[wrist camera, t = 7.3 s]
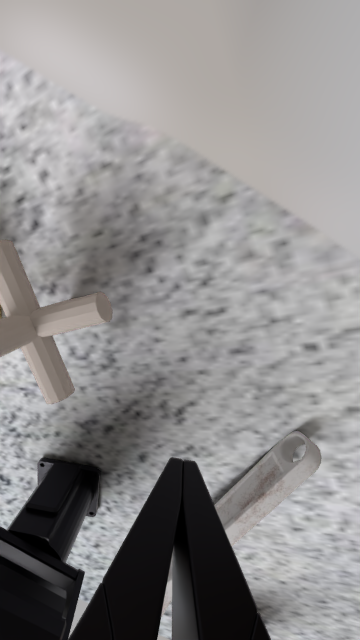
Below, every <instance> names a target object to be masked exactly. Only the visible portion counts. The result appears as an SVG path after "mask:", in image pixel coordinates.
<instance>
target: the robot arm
mask: <svg viewBox="0 0 360 640" xmlns="http://www.w3.org/2000/svg"><path fill="white" fill-rule="evenodd" d="M100 476H101V471H100V469H98V468H95V467H90V466H85V465H79V464H74V463H69V462H64V461H58V460H53V459H48V458H41V459H40V461H39V462H38V486H37V487H36V489H35V490H34V492H33V493H32V495H31V496H30V497H29V499H28V500H27V502H26V503H25V505H24V506H23V507H22V509H21V510H20V512H19V513H18V515H17V516H16V517H15V519H14V520H13V522H12V523H11V525H10V526H9V527H8V529H7V530H6V529H4V528H2V527H0V640H157V637H158V631H159V626H160V620H161V615H162V609H163V603H164V598H165V592H166V587H167V581H168V575H169V570H170V564H171V559H172V640H271V638H270V636H269V634H268V631H267V629H266V626H265V624H264V622H263V619H262V617H261V615H260V613H257V611H258V608H257V605H256V603H255V601H254V598H253V596H252V594H251V591H250V589H249V586H248V584H247V582H246V579H245V577H244V575H243V572H242V570H241V568H240V565H239V563H238V560H237V558H236V556H235V553H234V551H233V549H232V546H231V544H230V541H229V539H228V537H227V534H226V532H225V530H224V527H223V525H222V522H221V520H220V518H219V515H218V513H217V511H216V508H215V506H214V503H213V501H212V499H211V496H210V494H209V492H208V489H207V487H206V484H205V482H204V480H203V477H202V475H201V473H200V470H199V468H198V465H197V463H196V462H195V461H191V460H184V461H183V460H182V459H179V458H174V457H171V458H170V459H169V461H168V463H167V465H166V466H165V468H164V470H163V472H162V474H161V475H160V477H159V479H158V481H157V483H156V484H155V486H154V488H153V490H152V492H151V493H150V495H149V497H148V499H147V501H146V502H145V504H144V506H143V508H142V510H141V511H140V513H139V515H138V517H137V519H136V520H135V522H134V524H133V526H132V528H131V529H130V531H129V533H128V535H127V537H126V538H125V540H124V542H123V544H122V546H121V547H120V549H119V551H118V553H117V555H116V556H115V558H114V560H113V562H112V564H111V565H110V567H109V569H108V571H107V573H106V574H105V576H104V578H103V582H102V583H101V584H100V585H99V587H98V588H97V590H96V592H95V594H94V596H93V597H92V599H91V601H90V603H89V605H88V606H87V608H86V610H85V611H84V613H83V615H82V617H81V618H80V620H79V622H78V623H77V625H76V627H75V629H74V631H73V632H72V634H71V635H70V637H69V633H70V629H71V625H72V621H73V617H74V613H75V609H76V605H77V601H78V597H79V594H80V590H81V586H82V582H83V578H84V574H85V572H84V571H82V570H81V569H78V570H77V569H75V568H74V567H72V566H70V565H68V564H67V563H66V561H67V558H68V556H69V554H70V551H71V549H72V547H73V544H74V542H75V540H76V537H77V535H78V533H79V530H80V528H81V526H82V523H83V521H84V519H85V516H90V517H94V516H96V513H97V510H98V499H99V487H100ZM172 553H173V555H172ZM68 637H69V639H68Z"/></svg>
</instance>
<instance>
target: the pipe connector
mask: <svg viewBox="0 0 360 640" xmlns="http://www.w3.org/2000/svg"><path fill="white" fill-rule="evenodd" d="M0 304H1V306H2V308H3V311H4V313H5V315H6V317H5V318H2V319H0V357H1V356H4V355H6V354H8V353H10V352H12V351H14V350H16V349H18V348H20V347H21V349H22V351H23V353H24V356H25V358H26V360H27V362H28V364H29V366H30V369H31V371H32V373H33V375H34V377H35V379H36V381H37V384H38V386H39V388H40V390H41V392H42V394H43V396H44V399H45V401H46V403H47V404H54V403H57V402H60V401H62V400H64V399H65V398H67V397H69V396H70V395H71V394H72V393H73V392H74V391H75V388H74V386H73V384H72V381H71V379H70V377H69V374H68V372H67V369H66V367H65V365H64V362H63V360H62V358H61V355H60V353H59V351H58V348H57V346H56V343H55V341H54V339H53V336H52V335H56V334H61V333H65V332H69V331H73V330H77V329H81V328H85V327H89V326H93V325H97V324H102V323H106V322H110V320H111V319H112V307H111V303H110V301H109V299H108V297H107V296H106V295H105V294H104V293H101V292H97V293H94V294H90V295H86V296H83V297H79V298H73V299H69V300H66V301H62V302H59V303H55V304H52V305H48V306H45V307H41V308H40V306H39V303H38V301H37V299H36V296H35V294H34V292H33V289H32V287H31V284H30V282H29V280H28V277H27V275H26V273H25V270H24V268H23V266H22V263H21V261H20V258H19V256H18V254H17V251H16V249H15V247H14V244H13V242H12V241H9V240H0Z"/></svg>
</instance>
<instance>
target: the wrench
mask: <svg viewBox="0 0 360 640" xmlns="http://www.w3.org/2000/svg"><path fill="white" fill-rule="evenodd" d="M304 444H306V451H305V454H304V456H303V457H302V459H301V460H298V461H295V462H293V453H294V451H295V450H296V448H297V447H299V446H300V445H304ZM320 463H321V453H320V450H319V448H318V447H317V445H316V444H314V443H313V442H312V441H311V440H310V439H309V438H307V437H306V436H305V435H304V434H302V433H301V432H299V431H293V432H291V433H290V434H289V435H287V436H286V437H285V438H284V439H282V440H281V441H280V442H278V443H277V444H276V445H275V446H274V447H273V448H272V449H271V450H270V451H269V452H268V453H267V454H266V455H265V456H264V457H263V458H262V459H261V460H260V461H259V462H258V463H257V464H256V465H255V466H254V467H253V468H252V469H251V470H250V471H249V472H248V473H247V474H246V475H245V476H244V477H243V478H242V479H241V480H240V481H239V482H238V483H237V484H236V485H235V486H233V487H232V488H231V489H230V490H229V491H228V492H227V493H226V494H225V495H224V496H223V497H222V498H221V499H220V500H219V501H218V502H217V503H216V504H215V505H214V506H215V508H216V511H217V513H218V515H219V518H220V520H221V522H222V525H223V527H224V530H225V532H226V534H227V537H228V539H229V541H230V544H231V546H233V545H234V544H235V543H236V542H237V541H238V540H240V539H241V538H242V537H243V536H244V535H245V534H246V533H247V532H249V531H250V530H251V529H252V528H253V527H254V526H255V525H256V524H258V523H259V522H260V521H261V520H262V519H263V518H264V517H265V516H266V515H268V514H269V513H270V512H271V511H272V510H273V509H274V508H275V507H277V506H278V505H279V504H280V503H281V502H282V501H283V500H284V499H286V498H287V497H288V496H289V495H290V494H291V493H292V492H293V491H294V490H296V489H297V488H298V487H299V486H300V485H301V484H302V483H303V482H304V481H306V480H307V479H308V478H309V477H310V476H311V475H312V474H314V473H315V472H316V470H317V469H318V468H319V466H320ZM172 555H173V553H172ZM171 601H172V559H171V564H170V570H169V575H168V581H167V587H166V592H165V598H164V603H163V609H162V615H163V614H164V612H165V611H166V609H167V607H168V606H169V604H170V603H171ZM162 615H161V617H162Z"/></svg>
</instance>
